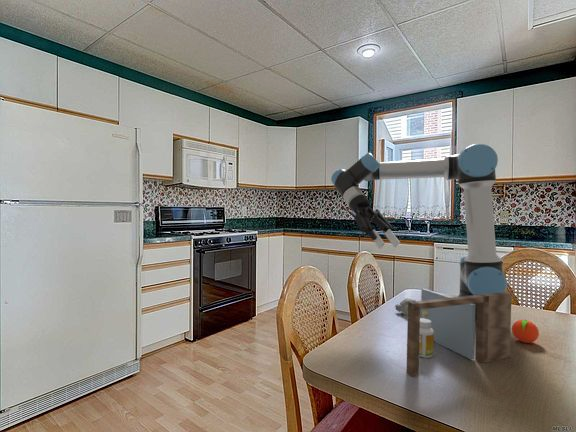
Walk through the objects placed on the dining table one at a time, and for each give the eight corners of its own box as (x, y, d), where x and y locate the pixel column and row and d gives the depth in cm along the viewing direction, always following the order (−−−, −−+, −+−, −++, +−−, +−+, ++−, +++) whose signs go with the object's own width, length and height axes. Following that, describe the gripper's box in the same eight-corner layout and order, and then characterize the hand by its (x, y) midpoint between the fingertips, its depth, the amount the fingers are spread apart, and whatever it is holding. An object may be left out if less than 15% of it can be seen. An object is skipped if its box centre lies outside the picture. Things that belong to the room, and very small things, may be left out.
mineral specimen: (440, 322, 120) (440, 304, 120) (426, 325, 117) (426, 307, 116) (408, 310, 134) (408, 294, 134) (395, 313, 131) (395, 296, 131)
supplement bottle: (432, 351, 95) (433, 318, 94) (434, 359, 90) (435, 324, 89) (412, 348, 96) (413, 316, 96) (413, 356, 91) (414, 322, 91)
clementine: (536, 349, 97) (537, 326, 97) (509, 343, 102) (509, 320, 102) (539, 342, 103) (540, 319, 103) (513, 336, 108) (514, 314, 108)
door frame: (502, 354, 94) (504, 292, 93) (509, 357, 92) (511, 293, 91) (406, 373, 82) (408, 301, 81) (412, 376, 80) (413, 304, 80)
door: (476, 358, 90) (478, 304, 89) (468, 360, 89) (469, 305, 88) (425, 333, 108) (426, 288, 107) (418, 334, 107) (419, 289, 106)
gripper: (368, 207, 136) (401, 250, 123) (332, 206, 124) (364, 254, 111) (379, 194, 132) (414, 237, 119) (342, 192, 120) (376, 239, 107)
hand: (389, 245), depth 115 cm, fingers open, 8 cm apart
